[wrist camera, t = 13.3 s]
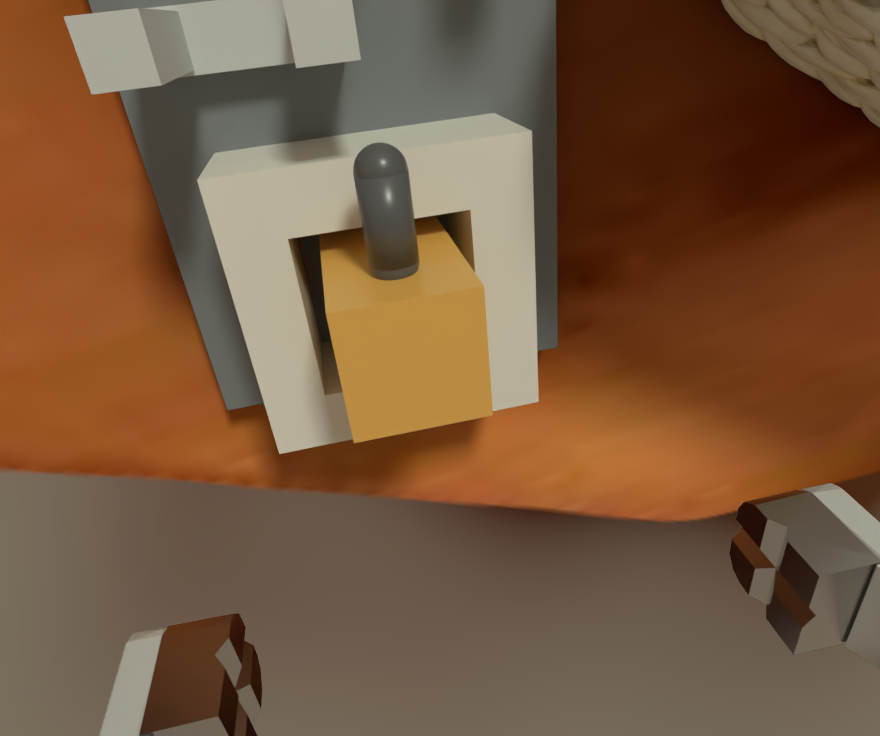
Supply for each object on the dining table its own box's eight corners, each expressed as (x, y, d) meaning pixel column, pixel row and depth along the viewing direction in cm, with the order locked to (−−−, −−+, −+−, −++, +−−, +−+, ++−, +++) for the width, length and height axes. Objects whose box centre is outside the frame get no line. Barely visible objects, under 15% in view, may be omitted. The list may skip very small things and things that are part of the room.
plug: (416, 103, 21) (473, 145, 14) (438, 304, 24) (492, 415, 18) (296, 120, 20) (295, 171, 13) (338, 321, 24) (353, 443, 17)
